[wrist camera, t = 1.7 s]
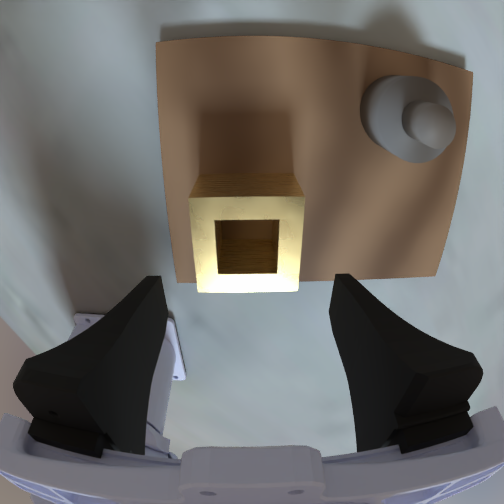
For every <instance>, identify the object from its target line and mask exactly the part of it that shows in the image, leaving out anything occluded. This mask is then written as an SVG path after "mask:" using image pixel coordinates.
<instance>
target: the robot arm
mask: <svg viewBox="0 0 504 504" xmlns="http://www.w3.org/2000/svg"><path fill="white" fill-rule="evenodd" d="M329 315H330V321H331V326H332V332H333V335H334V338H335V341H336V344H337V347H338V350H339V353H340V357H341V360H342V363H343V366H344V369H345V372H346V376H347V380H348V384H349V390H350V395H351V401H352V408H353V415H354V423H355V432H356V444H357V453H350V454H344V455H337V456H329V457H321V453H320V451H319V450H317V449H314V448H312V447H309V446H297V445H288V446H267V447H213V446H211V447H196V448H193V449H190V450H188V451H186V452H184V453H183V454H182V458H181V459H178V458H177V456H176V455H175V454H173V453H172V452H169V445H170V440H169V439H167V438H165V437H163V430H164V424H165V418H166V412H167V406H168V401H169V395H170V390H171V384H172V380H185V379H186V371H185V367H184V363H183V359H182V354H181V350H180V345H179V341H178V336H177V332H176V327H175V322H174V320H173V319H171V318H168V309H167V304H166V300H165V295H164V289H163V284H162V279H161V276H146V277H145V278H144V279H143V280H142V281H141V282H140V283H139V284H138V285H137V286H136V287H135V288H134V289H133V290H132V291H131V292H130V293H129V294H128V295H127V296H126V297H125V298H124V299H123V300H122V301H121V302H120V303H118V304H117V305H116V306H115V307H114V308H113V309H112V310H111V311H109V312H108V313H107V314H106V315H96V314H81V313H77V314H75V316H74V321H75V323H76V326H75V328H74V330H73V332H72V333H71V335H70V337H69V339H68V341H67V342H65V343H63V344H61V345H59V346H57V347H55V348H53V349H51V350H48V351H46V352H44V353H41V354H39V355H36V356H34V357H31V358H28V359H26V360H25V362H24V364H23V366H22V367H21V369H20V371H19V373H18V375H17V377H16V379H15V381H14V383H13V388H14V391H15V394H16V395H17V397H18V399H19V400H20V401H21V402H22V404H23V405H24V406H25V407H26V408H27V410H28V411H29V412H30V413H31V414H32V416H33V417H34V418H33V420H32V423H30V422H28V421H27V420H24V419H22V418H19V417H16V416H13V415H10V414H8V413H4V415H3V417H2V420H1V422H0V474H1V475H2V476H3V477H5V478H6V479H7V480H9V481H10V482H12V483H13V484H14V485H16V486H17V487H19V488H20V489H23V490H25V491H27V492H29V493H31V495H30V498H31V500H32V502H33V503H34V504H434V503H436V502H439V501H441V500H443V499H446V498H448V497H450V496H453V495H455V494H458V493H460V492H462V491H464V490H466V489H468V488H471V487H473V486H475V485H477V484H479V483H481V482H483V481H485V480H486V479H488V478H489V477H490V476H492V475H493V474H494V473H496V472H497V471H498V470H499V469H501V468H502V467H503V466H504V421H503V418H502V416H501V414H500V412H499V410H498V408H497V406H494V407H491V408H489V409H486V410H483V411H480V412H478V413H476V414H474V415H473V416H471V417H469V414H468V412H467V411H469V409H470V405H469V403H468V401H467V400H468V399H469V398H470V396H471V395H472V394H473V392H474V391H475V389H476V388H477V387H478V385H479V383H480V382H481V379H482V376H483V369H482V368H481V366H480V364H479V362H478V361H477V359H476V357H475V356H474V354H473V353H471V352H468V351H465V350H462V349H459V348H456V347H454V346H451V345H449V344H446V343H444V342H442V341H440V340H437V339H435V338H433V337H431V336H429V335H428V334H426V333H424V332H422V331H420V330H419V329H417V328H415V327H414V326H412V325H411V324H409V323H408V322H406V321H405V320H403V319H402V318H400V317H399V316H398V315H396V314H395V313H394V312H392V311H391V310H390V309H389V308H387V307H386V306H385V305H384V304H383V303H381V302H380V301H379V300H378V299H377V298H376V297H375V296H373V295H372V294H371V293H370V292H369V291H368V290H367V289H366V288H365V287H364V286H363V285H362V284H360V283H359V282H358V281H357V280H356V279H355V278H354V277H353V276H352V275H351V274H349V273H345V274H335V279H334V285H333V291H332V297H331V302H330V308H329ZM88 319H89V320H88Z"/></svg>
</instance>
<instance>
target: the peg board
mask: <svg viewBox="0 0 504 504" xmlns="http://www.w3.org/2000/svg"><path fill="white" fill-rule="evenodd" d="M156 74H157V97H158V115H159V130H160V143H161V155H162V167H163V177H164V187H165V196H166V205H167V213H168V221H169V229H170V237H171V244H172V251H173V258H174V265H175V272H176V278H177V283H197V279H196V271H195V262H194V253H193V243H192V234H191V223H190V212H189V201H188V197H189V195H190V193H191V191H192V189H193V187H194V184H195V182H196V180H197V178H198V176H199V174H231V173H294V175H295V177H296V179H297V181H298V183H299V185H300V187H301V189H302V191H303V193H304V195H305V207H304V222H303V235H302V248H301V260H300V271H299V282H300V281H334V279H335V274H345V273H349V274H351V275H352V276H353V277H354V278H355V279H356V280H364V279H388V278H410V277H429V276H436V272H437V269H438V266H439V263H440V260H441V256H442V253H443V250H444V246H445V243H446V239H447V236H448V232H449V228H450V224H451V220H452V216H453V212H454V208H455V203H456V199H457V194H458V190H459V185H460V180H461V174H462V169H463V163H464V157H465V151H466V144H467V137H468V129H469V121H470V111H471V99H472V85H473V72H471V71H468V70H465V69H462V68H459V67H456V66H452V65H449V64H446V63H442V62H439V61H436V60H432V59H428V58H424V57H421V56H417V55H412V54H408V53H404V52H399V51H395V50H390V49H385V48H380V47H374V46H369V45H362V44H356V43H349V42H342V41H334V40H325V39H314V38H302V37H284V36H220V37H203V38H190V39H180V40H171V41H163V42H156ZM272 221H273V219H265V220H221V224H222V240H229V239H272Z"/></svg>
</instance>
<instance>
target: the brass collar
mask: <svg viewBox="0 0 504 504" xmlns="http://www.w3.org/2000/svg"><path fill="white" fill-rule="evenodd" d="M188 201H189V212H190V223H191V234H192V243H193V253H194V262H195V271H196V279H197V288H198V292H275V291H298V282H299V271H300V260H301V248H302V235H303V222H304V207H305V195H304V193H303V191H302V189H301V187H300V185H299V183H298V181H297V179H296V177H295V175H294V173H231V174H199V176H198V178H197V180H196V182H195V184H194V187H193V189H192V191H191V193H190V195H189V197H188ZM265 219H273V221H272V239H229V240H222V224H221V220H265Z"/></svg>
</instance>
